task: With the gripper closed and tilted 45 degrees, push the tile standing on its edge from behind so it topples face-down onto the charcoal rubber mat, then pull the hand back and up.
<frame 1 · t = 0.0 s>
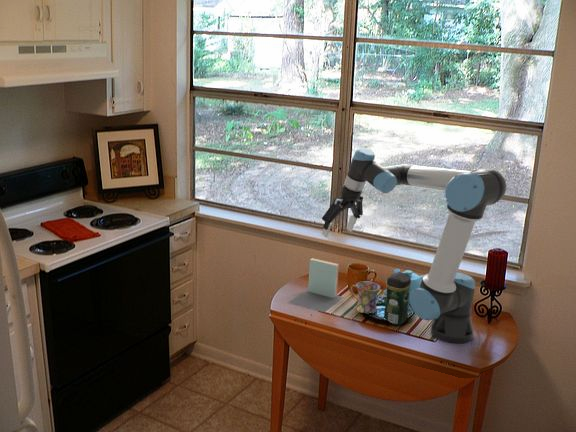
hand: (336, 232, 258), 28 cm above the table, tool tilted 20°, fingers open, 13 cm apart
mat: (316, 301, 261), on the table
teapot: (403, 298, 270), on the table
coffee jar: (394, 320, 248), on the table
tile: (322, 294, 267), point 1 cm above the table, touching mat
mug: (362, 310, 256), on the table
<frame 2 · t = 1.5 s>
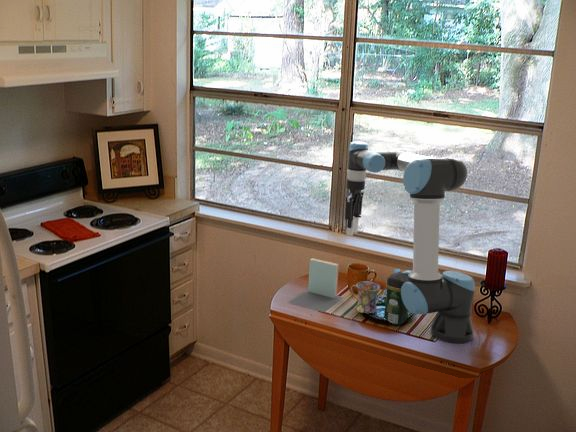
hand: (351, 233, 276), 23 cm above the table, tool pointing down, fingers open, 4 cm apart
nothing on the table moved.
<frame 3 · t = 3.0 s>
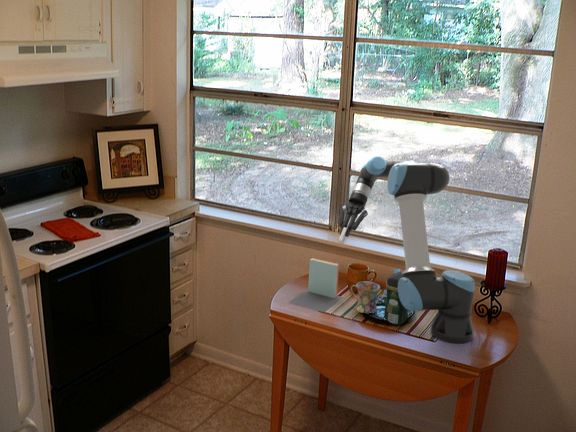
hand: (340, 242, 275), 19 cm above the table, tool tilted 45°, fingers closed
nothing on the table moved.
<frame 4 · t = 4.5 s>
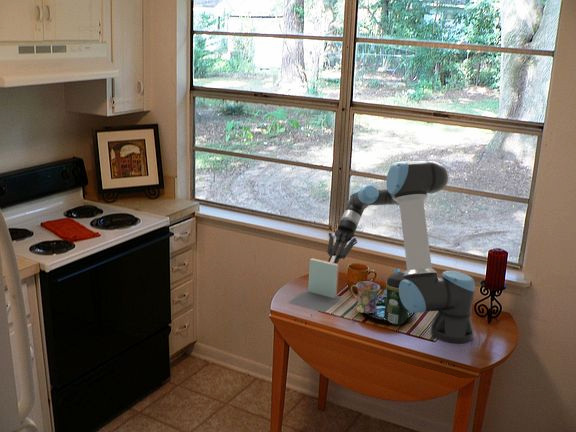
hand: (329, 270, 270), 9 cm above the table, tool tilted 45°, fingers closed
nothing on the table moved.
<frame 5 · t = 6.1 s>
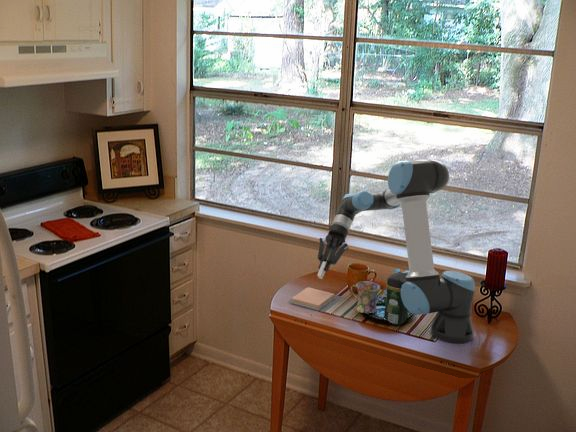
hand: (319, 277, 263), 9 cm above the table, tool tilted 45°, fingers closed
tile: (320, 292, 266), point 2 cm above the table, tilted 90°, touching mat
everything else where it was.
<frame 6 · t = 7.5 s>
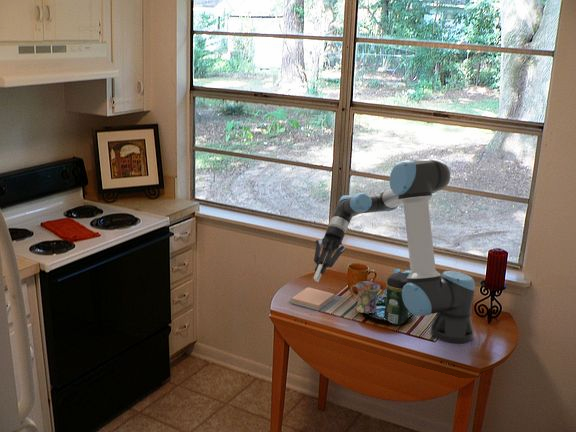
hand: (315, 280, 259), 9 cm above the table, tool tilted 45°, fingers closed
nothing on the table moved.
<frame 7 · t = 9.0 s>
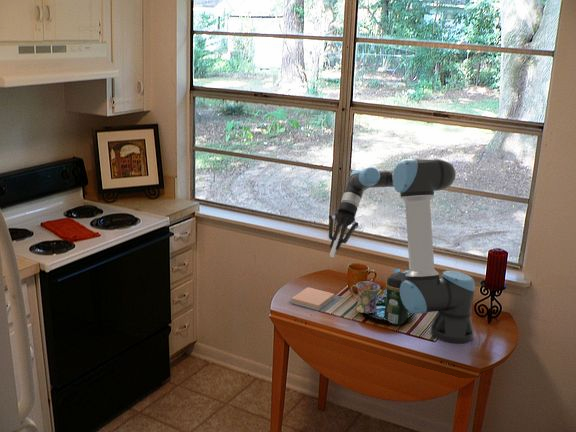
hand: (331, 256, 265), 17 cm above the table, tool tilted 40°, fingers closed
nothing on the table moved.
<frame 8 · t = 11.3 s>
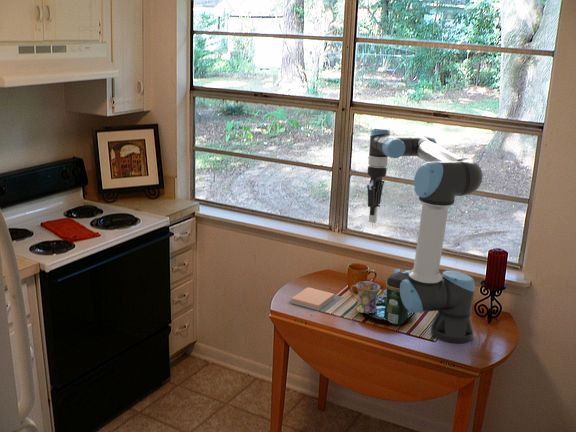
hand: (372, 222, 269), 29 cm above the table, tool pointing down, fingers closed
nothing on the table moved.
at the end: tile tilted 90°; tile touching mat; tile 5.5 cm from the mat (horizontally) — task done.
